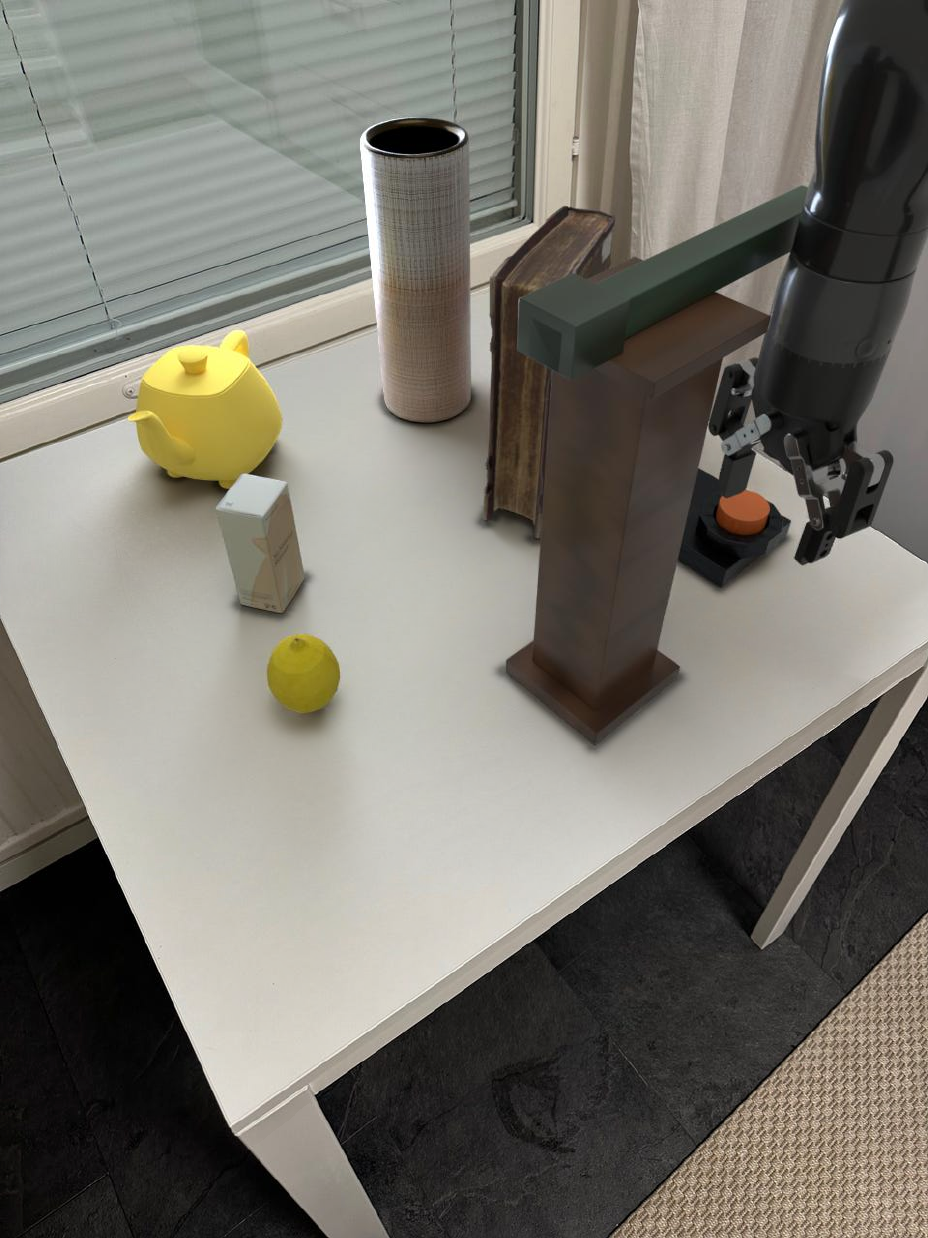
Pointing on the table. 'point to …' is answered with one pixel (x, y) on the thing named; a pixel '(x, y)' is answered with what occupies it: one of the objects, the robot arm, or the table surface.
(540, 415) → the book
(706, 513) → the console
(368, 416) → the table surface
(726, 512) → the button
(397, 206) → the vase
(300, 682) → the fruit
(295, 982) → the table surface
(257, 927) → the table surface
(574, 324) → the rod
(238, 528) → the box
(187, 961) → the table surface
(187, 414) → the teapot
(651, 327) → the pedestal
